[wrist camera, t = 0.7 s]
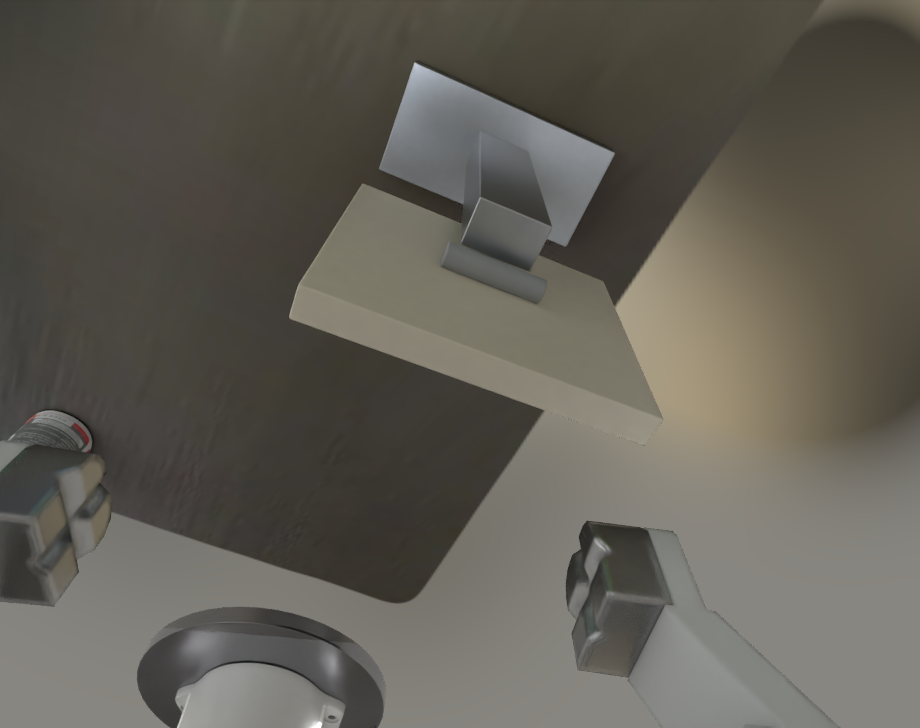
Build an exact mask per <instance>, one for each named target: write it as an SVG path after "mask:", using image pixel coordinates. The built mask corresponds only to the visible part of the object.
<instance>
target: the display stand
mask: <svg viewBox="0 0 920 728" xmlns="http://www.w3.org/2000/svg"><path fill="white" fill-rule="evenodd" d="M614 155H615V152H614V151H613V150H612V149H611V148H609V147H606V146H604V145H602V144H600V143H598V142H595V141H593V140H591V139H589V138H587V137H584V136H582V135H580V134H578V133H576V132H573V131H571V130H569V129H567V128H565V127H562V126H560V125H558V124H556V123H554V122H551V121H549V120H547V119H545V118H542V117H540V116H538V115H536V114H534V113H531V112H529V111H527V110H525V109H523V108H520V107H518V106H516V105H514V104H512V103H509V102H507V101H505V100H503V99H501V98H498V97H496V96H494V95H492V94H490V93H487V92H485V91H483V90H481V89H478V88H476V87H474V86H472V85H470V84H467V83H465V82H463V81H461V80H459V79H456V78H454V77H452V76H450V75H448V74H445V73H443V72H441V71H439V70H437V69H434V68H432V67H430V66H428V65H426V64H423V63H421V62H419V61H415V62H414V65H413V68H412V71H411V74H410V77H409V80H408V83H407V86H406V89H405V92H404V95H403V98H402V101H401V104H400V107H399V110H398V113H397V116H396V119H395V122H394V125H393V128H392V131H391V134H390V137H389V140H388V143H387V146H386V149H385V152H384V155H383V158H382V161H381V164H380V167H379V170H381V171H384V172H386V173H388V174H391V175H393V176H396V177H398V178H400V179H403V180H405V181H408V182H410V183H412V184H415V185H417V186H420V187H422V188H425V189H427V190H429V191H432V192H434V193H437V194H439V195H441V196H444V197H446V198H449V199H451V200H453V201H456V202H458V203H461V204H463V213H462V226H461V239H460V244H461V245H464V246H466V247H469V248H471V249H474V250H476V251H479V252H481V253H484V254H486V255H489V256H491V257H494V258H496V259H499V260H501V261H504V262H506V263H509V264H511V265H514V266H516V267H519V268H521V269H524V270H526V271H531V269H532V267H533V265H534V263H535V261H536V259H537V257H538V255H539V253H540V251H541V249H542V247H543V246H544V244H545V242H546V240H547V239H548V240H550V241H552V242H555V243H557V244H560V245H562V246H564V247H566V246H567V244H568V242H569V240H570V238H571V237H572V235H573V233H574V231H575V229H576V227H577V225H578V223H579V221H580V220H581V218H582V216H583V214H584V212H585V210H586V208H587V206H588V204H589V202H590V201H591V199H592V197H593V195H594V193H595V191H596V189H597V187H598V185H599V184H600V182H601V180H602V178H603V176H604V174H605V172H606V170H607V168H608V166H609V165H610V163H611V161H612V159H613V157H614Z"/></svg>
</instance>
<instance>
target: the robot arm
mask: <svg viewBox="0 0 920 728" xmlns="http://www.w3.org/2000/svg"><path fill="white" fill-rule="evenodd" d="M105 474H106V469H105V464H104V460H103V457H101V456H99V455H97V454H93V453H87V452H81V451H74V450H68V449H62V448H56V447H49V446H43V445H37V444H35V445H32V444H26V443H20V442H14V441H8V440H2V441H0V602H10V603H22V604H31V605H32V604H33V605H42V606H55V604H56V603H57V602H58V600H59V599H60V597H61V596H62V594H63V593H64V592H65V590H66V589H67V587H68V586H69V585H70V583H71V582H72V581H73V579H74V578H75V577H76V575H77V574H78V572H79V570H78V564H77V559H79V558H81V557H83V556H84V555H86V554H88V553H90V552H92V551H94V550H95V548H96V547H97V546H98V544H99V543H100V541H101V540H102V538H103V537H104V535H105V532H106V529H107V527H108V524H109V522H110V519H111V509H112V503H111V496H110V493H109V492H108V491H107V490H106V489H105V488H104V487H103V486H102V485H101V484H100V483H99V482H100V481H101V479H102V478H103V477H104V476H105ZM579 540H580V545H581V549H580V550H579V551H578V552H576V553H574V554H573V555H572V557H571V560H570V564H569V567H568V572H567V579H566V599H567V606H568V611H569V612H570V613H571V614H572V615H573V617H574V618H575V619H576V620H577V621H576V623H575V626H574V629H573V631H572V639H573V645H574V651H575V657H576V663H577V669H578V670H581V671H588V672H594V673H601V674H608V675H615V676H621V677H628V681H629V683H630V684H631V686H632V687H633V688H634V690H635V691H636V693H637V694H638V696H639V697H640V699H641V700H642V701H643V703H644V704H645V705H646V707H647V708H648V710H649V711H650V712H651V714H652V716H653V717H654V718H655V720H656V721H657V723H658V724H659V726H660V727H661V728H840V727H839V726H838V725H837V724H836V723H834V722H833V721H832V720H831V719H830V718H829V717H828V716H827V715H826V714H825V713H824V712H823V711H822V710H820V709H819V708H818V707H817V706H816V705H815V704H814V703H813V702H812V701H811V700H810V699H809V698H808V697H807V696H805V694H803V693H802V692H801V691H800V690H799V689H798V688H797V687H796V686H795V685H794V684H793V683H792V682H791V681H789V680H788V679H787V678H786V677H785V676H784V675H783V674H782V673H781V672H780V671H779V670H778V669H777V668H776V667H775V666H773V665H772V664H771V663H770V662H769V661H768V660H767V659H766V658H765V657H764V656H763V655H762V654H761V653H759V652H758V651H757V650H756V649H755V648H754V647H753V646H752V645H751V644H750V643H749V642H748V641H747V640H746V639H744V638H743V637H742V636H741V635H740V634H739V633H738V632H737V631H736V630H735V629H734V628H733V627H732V626H731V625H729V624H728V623H727V622H726V621H725V620H724V619H723V618H722V617H721V616H720V615H719V614H718V613H717V612H715V611H709V610H707V609H706V607H705V604H704V602H703V599H702V597H701V594H700V592H699V590H698V588H697V584H696V582H695V580H694V577H693V574H692V572H691V570H690V567H689V565H688V562H687V560H686V557H685V554H684V552H683V549H682V547H681V544H680V542H679V539H678V537H677V535H676V534H675V533H674V532H673V531H668V530H659V529H651V528H640V527H632V526H625V525H617V524H609V523H601V522H594V521H586V523H585V524H584V525H583V527H582V530H581V532H580V535H579ZM175 702H176V704H177V705H178V707H179V708H180V710H181V712H182V715H181V718H180V721H179V724H178V726H177V728H339V726H340V723H341V720H342V717H343V715H344V711H345V708H346V705H345V704H344V703H343V702H342V701H340V700H338V699H336V698H334V697H332V696H330V695H327V694H325V693H324V692H322V691H321V690H320V689H318V688H317V687H316V686H315V685H314V684H313V683H311V682H310V681H309V680H307V679H306V678H304V677H302V676H300V675H299V674H296V673H294V672H292V671H289V670H287V669H284V668H280V667H277V666H272V665H267V664H260V663H234V664H228V665H224V666H220V667H217V668H215V669H213V670H211V671H209V672H208V673H206V674H205V675H204V676H203V677H202V678H201V679H200V680H199V681H197V682H196V683H193V684H190V685H186V686H184V687H181V688H179V689H178V691H177V694H176V697H175Z"/></svg>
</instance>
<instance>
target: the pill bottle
mask: <svg viewBox="0 0 920 728" xmlns="http://www.w3.org/2000/svg"><path fill="white" fill-rule="evenodd" d="M8 441H14V442H20V443H26V444H32V445H35V444H37V445H43V446H49V447H56V448H62V449H68V450H74V451H81V452H87V453H89V452H90V450H91V447H92V438H91V435H90V433H89V431H88V429H87V428H86V427H85V426H84V425H83V424H82V423H81V422H80V421H79V420H77V419H76V418H74V417H72V416H70V415H67V414H65V413H62V412H58V411H42V412H39V413H37V414H35V415H34V416H32V417H31V418H30V419H29V420H28V421H27V422H26V423H25V424H24V425H23V426H22V427H21V428H20V429H19V430H17V431H16V432H15V433H14V434H13V435H12V436H11V437H10V438H9V439H8Z"/></svg>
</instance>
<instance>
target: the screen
mask: <svg viewBox="0 0 920 728" xmlns="http://www.w3.org/2000/svg"><path fill="white" fill-rule="evenodd" d="M461 226H462V224H461V223H459V222H456V221H454V220H452V219H449V218H447V217H444V216H442V215H439V214H437V213H434V212H432V211H430V210H427V209H425V208H422V207H420V206H417V205H415V204H412V203H410V202H407V201H405V200H403V199H400V198H398V197H395V196H393V195H390V194H388V193H385V192H383V191H381V190H378V189H376V188H373V187H371V186H368V185H366V184H362V185H361V186H360V188H359V189H358V191H357V193H356V194H355V196H354V197H353V199H352V201H351V202H350V204H349V205H348V207H347V209H346V210H345V212H344V213H343V215H342V216H341V218H340V220H339V221H338V223H337V224H336V226H335V228H334V229H333V231H332V232H331V234H330V235H329V237H328V239H327V240H326V242H325V243H324V245H323V247H322V248H321V250H320V251H319V253H318V254H317V256H316V258H315V259H314V261H313V262H312V264H311V266H310V267H309V269H308V270H307V272H306V274H305V275H304V277H303V278H302V280H301V281H300V283H299V285H298V287H297V291H296V294H295V298H294V301H293V305H292V308H291V311H290V315H289V318H290V319H292V320H295V321H298V322H300V323H303V324H306V325H309V326H312V327H314V328H317V329H320V330H323V331H325V332H328V333H331V334H334V335H337V336H339V337H342V338H345V339H348V340H351V341H353V342H356V343H359V344H362V345H364V346H367V347H370V348H373V349H376V350H378V351H381V352H384V353H387V354H390V355H392V356H395V357H398V358H401V359H403V360H406V361H409V362H412V363H415V364H417V365H420V366H423V367H426V368H428V369H431V370H434V371H437V372H440V373H442V374H445V375H448V376H451V377H454V378H456V379H459V380H462V381H465V382H467V383H470V384H473V385H476V386H479V387H481V388H484V389H487V390H490V391H493V392H495V393H498V394H501V395H504V396H506V397H509V398H512V399H515V400H518V401H520V402H523V403H526V404H529V405H531V406H534V407H537V408H540V409H543V410H545V411H548V412H551V413H554V414H557V415H560V416H562V417H565V418H568V419H571V420H573V421H576V422H579V423H582V424H585V425H587V426H590V427H593V428H596V429H598V430H601V431H604V432H607V433H609V434H612V435H615V436H618V437H621V438H623V439H626V440H629V441H632V442H635V443H637V444H640V445H643V446H644V445H645V444H646V443H647V442H648V440H649V439H650V437H651V436H652V435H653V434H654V432H655V431H656V429H657V428H658V427H659V425H660V424H661V423H662V421H663V417H662V415H661V413H660V410H659V408H658V406H657V404H656V401H655V399H654V397H653V395H652V392H651V390H650V388H649V385H648V383H647V381H646V378H645V376H644V374H643V372H642V369H641V367H640V365H639V362H638V360H637V358H636V355H635V353H634V351H633V349H632V346H631V344H630V342H629V340H628V337H627V335H626V333H625V330H624V328H623V326H622V323H621V321H620V319H619V316H618V314H617V312H616V310H615V307H614V305H613V303H612V300H611V298H610V296H609V294H608V291H607V289H606V287H605V284H604V282H603V281H601V280H598V279H596V278H594V277H591V276H589V275H586V274H584V273H581V272H579V271H576V270H574V269H572V268H569V267H567V266H564V265H562V264H559V263H557V262H554V261H552V260H550V259H547V258H545V257H542V256H540V255H538V257H537V259H536V261H535V263H534V265H533V267H532V269H531V271H526V270H524V269H521V268H519V267H516V266H514V265H511V264H509V263H506V262H504V261H501V260H499V259H496V258H494V257H491V256H489V255H486V254H484V253H481V252H479V251H476V250H474V249H471V248H469V247H466V246H464V245H461V244H460V239H461Z"/></svg>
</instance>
